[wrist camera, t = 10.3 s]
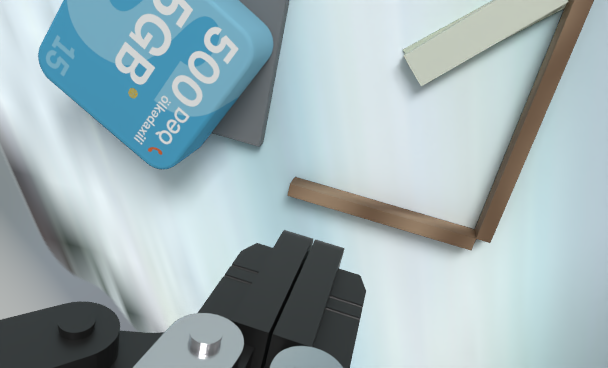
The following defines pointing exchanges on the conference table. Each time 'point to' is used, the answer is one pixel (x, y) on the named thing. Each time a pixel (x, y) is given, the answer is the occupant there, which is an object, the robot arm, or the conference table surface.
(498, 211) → the brown wooden frame
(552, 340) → the conference table surface
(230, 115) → the rubber mat
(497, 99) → the conference table surface
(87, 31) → the data package
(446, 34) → the beige rectangular bar
